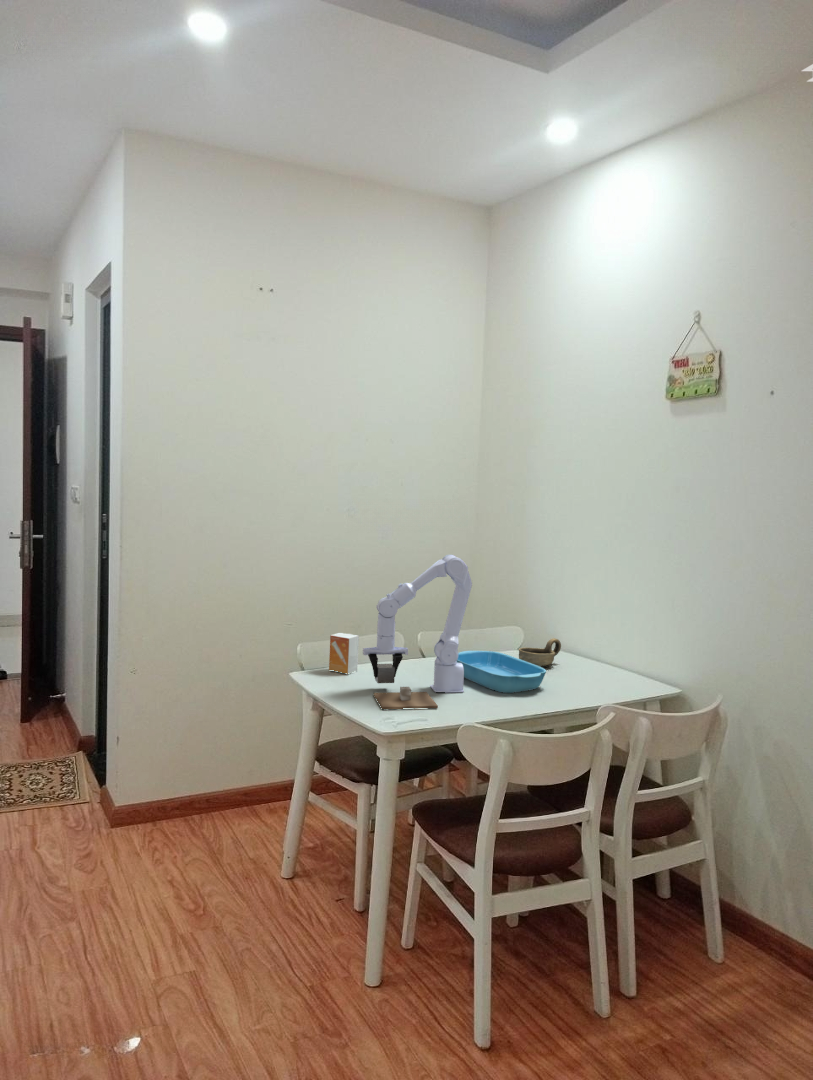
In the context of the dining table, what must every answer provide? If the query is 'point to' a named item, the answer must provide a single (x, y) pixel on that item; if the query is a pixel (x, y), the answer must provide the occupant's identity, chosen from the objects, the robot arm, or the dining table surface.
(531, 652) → the bowl
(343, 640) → the small box
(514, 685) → the casserole dish
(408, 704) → the post board
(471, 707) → the dining table surface
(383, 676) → the square cap
